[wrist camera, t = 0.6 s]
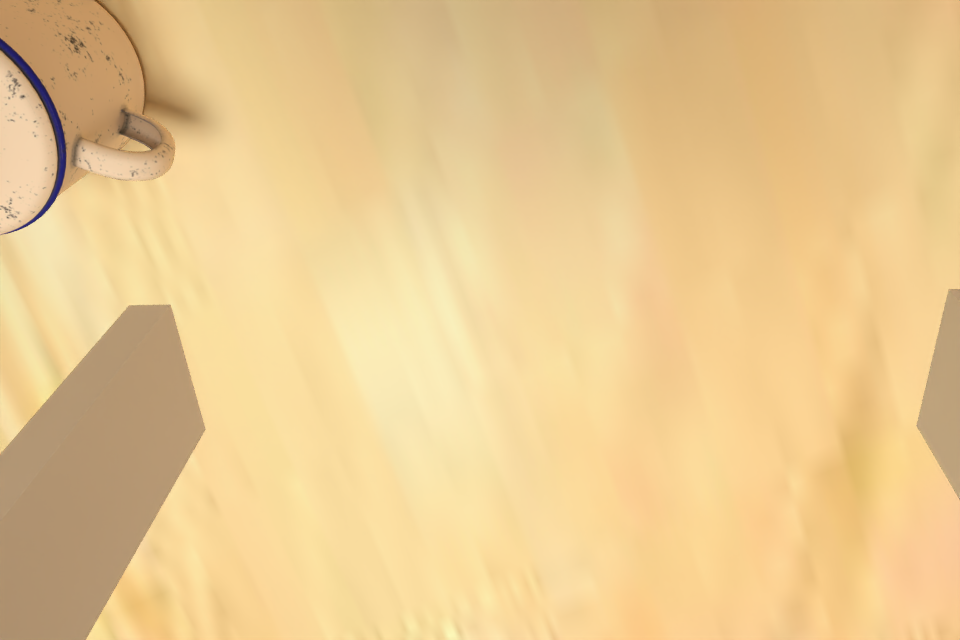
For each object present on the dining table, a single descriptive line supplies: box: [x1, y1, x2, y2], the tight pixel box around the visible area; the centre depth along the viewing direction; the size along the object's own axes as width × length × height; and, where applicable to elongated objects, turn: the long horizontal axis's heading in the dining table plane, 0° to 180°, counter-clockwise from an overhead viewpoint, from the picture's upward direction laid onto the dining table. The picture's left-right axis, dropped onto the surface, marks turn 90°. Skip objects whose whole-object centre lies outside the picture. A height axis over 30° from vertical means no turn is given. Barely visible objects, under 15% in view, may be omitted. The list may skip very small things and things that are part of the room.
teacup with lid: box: [0, 0, 175, 235], centre depth 36 cm, size 12×9×12 cm
